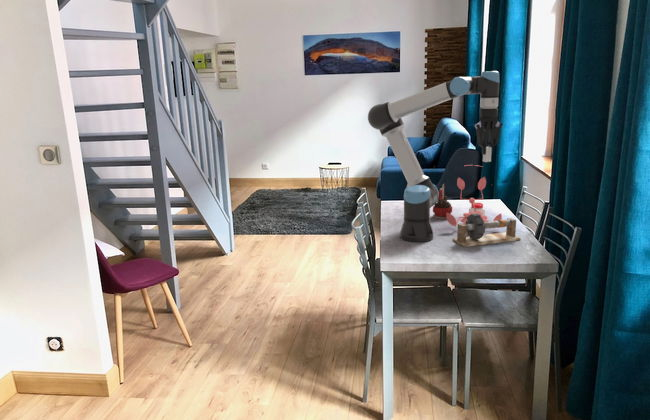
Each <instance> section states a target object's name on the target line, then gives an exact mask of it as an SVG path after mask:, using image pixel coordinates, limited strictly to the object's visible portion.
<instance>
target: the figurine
mask: <svg viewBox="0 0 650 420" xmlns="http://www.w3.org/2000/svg"><path fill="white" fill-rule="evenodd" d="M466 166H468V164H466V165H465V167H466ZM469 166H472V164H469ZM475 166H476V167H478V165H475ZM480 167H481V168H482V167H483V166H481V165H480ZM456 180H457V181H456V186H457V187H458V189H459V190H460V196H462V195H463V194H462V192H463V190H464V189H465V187H466V184H465V181H464V180H463V179H462V178H461V177H459V176H458V178H457V179H456ZM486 185H487V179H486V177H485V176H483V177H481V178H480V179H479V181H478V182H477V189H478V190H479V191H480V193H481V198H477V199H475V198H474V197H470V198H469V199H468V198H462V197H460V200H461V201H463V200H465V201H469V203H470V204H471V205H472V204H473V203H476V202H475V201H478V200H483V199H484V195H483V190H484V189H486ZM492 185H493V184H491V185H490V186H492ZM473 206H474V204H473ZM474 209H475V210H474V212H472V211H470V212H469V211H468V212H464V213H463V214H462V215H463V216H459V217H458V219H456V217H455V216H454V215H453V214H452V213H451V214H449V213H446V218H447V219H446V218H445V219H446V221H447V222H448V224H450V225H451V226H453V227H457V226H458V224H459V221H460V222H461V223H462V224H466V220H467V217H468V216H469V215H471V214H475V211H476V208H475V206H474ZM476 213H477V214H479V215H481V217H482V219H483V221H484V222H490V221H489V220H488V216H487V215H485V216H482V213H481V211H477V212H476ZM481 217H480V218H481ZM497 220H503V219H502V213H499V214H498V215H495V217H494V219H493V220H492V221H497Z"/></svg>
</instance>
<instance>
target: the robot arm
mask: <svg viewBox="0 0 650 420" xmlns="http://www.w3.org/2000/svg"><path fill="white" fill-rule="evenodd" d="M500 83H501V82H500V72H499V71H497V70H491V71H481V74H480V76H456V77H454V78H452V79H451V80H449V81H446V82H443V83H441V84H438V85H434V86H432V87H430V88H428V89H425V90H422V91H420V92H417V93H414V94H411V95H409V96H407V97H404V98H402V99H399V100H396V101H393V102H392V101H387V102H383V103H380V104H375V105H374V106H372V107H371V108H370V110H369V111H368V114H367V121H368V124H369V125H370V127H372V128H373V129H376V130H378V131H379V132H380V134H381V136H382V137H384V138H386V140H387V141H388V143H389V145H390V148H391V150H392V152H393V154H394V156H395V158H396V160H397V162H398V165H399V167H400V170H401V171H402V174H403V175H404V177H405V180H406V182H407V185H406V188H405V189H404V191H403V192H404V193H403V223H402V226H401V229H400V232H399V238H400V239H401V240H402V241H405V242H412V243H413V242H414V243H424V242H428V241H432V240H433V239H434V232H433V228H432V224H431V221H430V218H431V217H430V215H431V212H430V211H431V208H433V206H435V203H436V202H437V200H438V196H439V190H438V187H437V186H436V185H435V184H434V183H432V181H431V179H430V177H429V176H427V175H425V173H424V171H423V170H422V167H421V165H420V163H419V161H418V159H417V156H416V154H415V152H414V150H413V147H412V146H411V144H410V142H409V139H408V137H407V135H406V133H405V131H404V127H405V124H404V121H403V118H405V117H407V116H409V115H412V114H415V113H418V112H421V111H423V110H426V109H429V108H432V107H435V106H438V105H439V104H442V103H445V102H447V101H451V100H454V99H456V98H458V97H462V96H464V95H465V96H466V95H480V99H479V100H480V101H479V102H480V103H479V106H480V109H479V117H480V119H479V122H477V123H474V125H473V127H474V128H475V134H476V141H477V145H478V146H479V147H481V155H482V162H484V163H490V162H492V154H493V151H494V147H495V146H497V145H498V142H499V138H500V133H501V128H502V126H504V125H503V123H502V122H500V121H499V119H498V117H499V108H498V107H499V97H500V96H499V95H500V94H499V93H500Z"/></svg>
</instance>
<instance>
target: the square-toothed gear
mask: <svg viewBox="0 0 650 420" xmlns="http://www.w3.org/2000/svg"><path fill="white" fill-rule="evenodd" d="M480 217H481V215H479V214H477V213H475V214H471V215H469V216H468V217H467V220H466V224H472V223H474V224H475V230H471V231H466V234H467V235H468V236H467V237H470V238H471V239H473V240H477V239H480V238H482V236H483V235H485V234H486V229H485V226H484V225H483V224H484V221H483V219H482V217H481V218H480Z"/></svg>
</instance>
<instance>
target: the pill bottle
mask: <svg viewBox="0 0 650 420" xmlns="http://www.w3.org/2000/svg"><path fill="white" fill-rule="evenodd" d="M473 204H474V206H475V208H476V211H475V213H476V212H477V211H481V213H482V216H486V208H485V207H484V203H482V202H474V203H473ZM473 204H471V206H470V207H469V208H468V213H469V212H470V211H472V212H474V210H475V209H474V206H473Z"/></svg>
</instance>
